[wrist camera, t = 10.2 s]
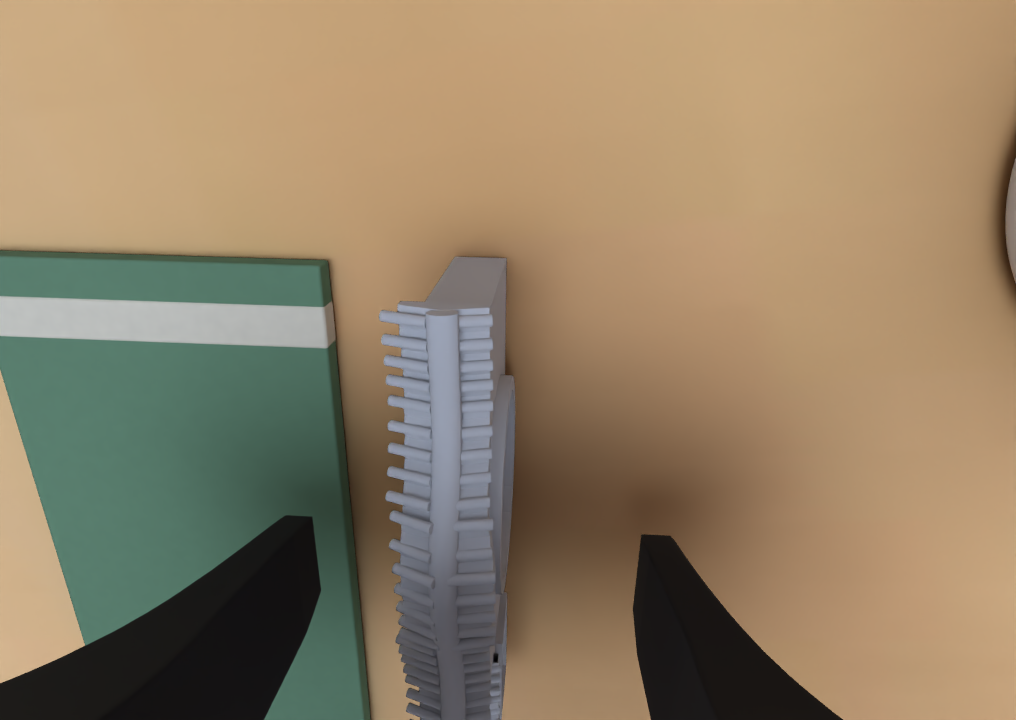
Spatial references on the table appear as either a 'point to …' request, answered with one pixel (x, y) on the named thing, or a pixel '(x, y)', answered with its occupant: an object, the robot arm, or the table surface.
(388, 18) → the table surface
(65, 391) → the towel
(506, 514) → the lattice window wall
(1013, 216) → the fruit juice
